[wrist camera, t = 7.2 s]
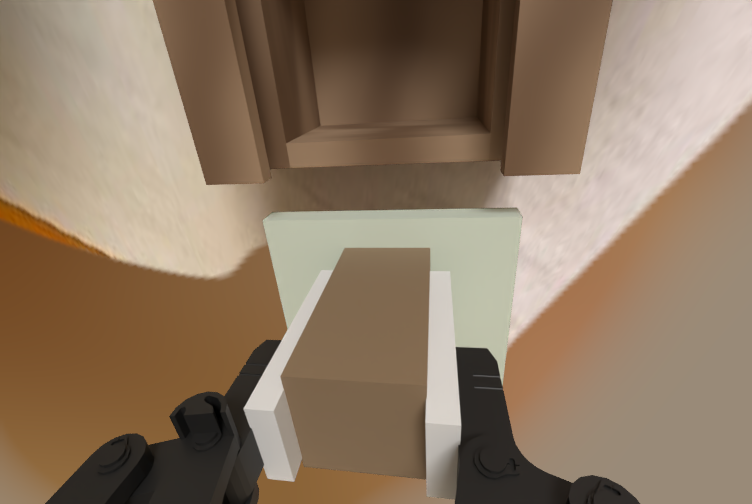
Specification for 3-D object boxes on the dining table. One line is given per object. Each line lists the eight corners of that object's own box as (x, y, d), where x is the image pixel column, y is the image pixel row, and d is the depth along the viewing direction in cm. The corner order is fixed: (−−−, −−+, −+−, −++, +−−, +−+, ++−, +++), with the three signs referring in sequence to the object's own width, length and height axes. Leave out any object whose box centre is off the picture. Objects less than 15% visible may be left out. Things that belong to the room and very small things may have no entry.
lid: (308, 379, 20) (240, 546, 13) (272, 212, 16) (138, 330, 9) (496, 390, 18) (534, 589, 11) (517, 207, 14) (599, 349, 7)
